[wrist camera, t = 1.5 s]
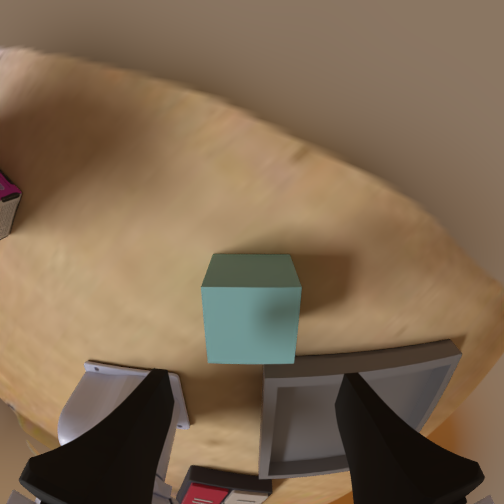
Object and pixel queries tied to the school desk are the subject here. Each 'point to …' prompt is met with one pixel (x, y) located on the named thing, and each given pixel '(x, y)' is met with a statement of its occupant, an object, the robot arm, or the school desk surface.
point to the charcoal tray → (324, 396)
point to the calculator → (222, 487)
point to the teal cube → (251, 309)
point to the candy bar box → (7, 204)
